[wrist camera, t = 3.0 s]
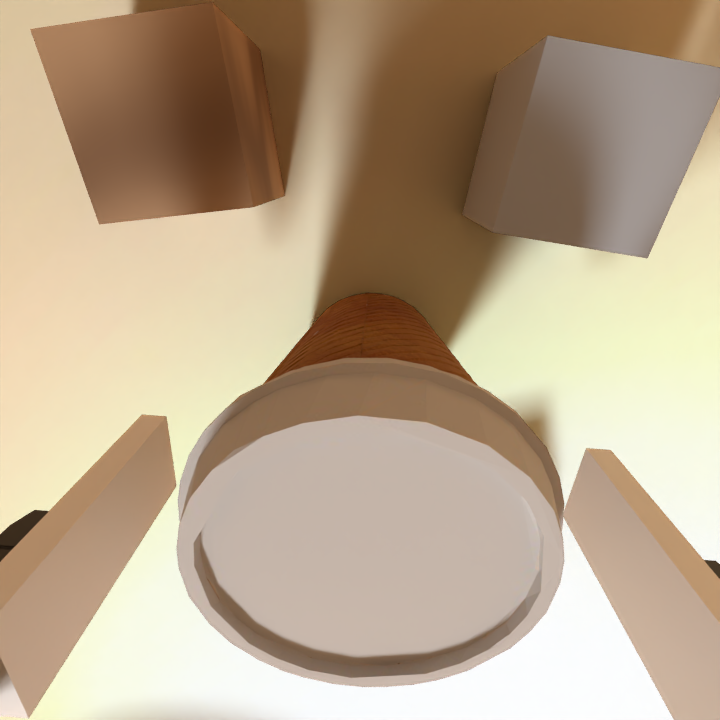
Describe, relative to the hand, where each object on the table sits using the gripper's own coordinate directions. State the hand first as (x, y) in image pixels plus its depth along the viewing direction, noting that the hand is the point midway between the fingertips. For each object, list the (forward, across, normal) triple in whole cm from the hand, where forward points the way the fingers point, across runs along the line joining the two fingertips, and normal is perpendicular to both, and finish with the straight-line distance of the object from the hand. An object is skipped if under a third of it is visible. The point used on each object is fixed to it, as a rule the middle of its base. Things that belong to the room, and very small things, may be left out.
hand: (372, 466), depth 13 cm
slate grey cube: (+8, +6, +10) cm, 14 cm away
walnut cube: (+8, -7, +10) cm, 14 cm away
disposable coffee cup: (+8, 0, 0) cm, 8 cm away
